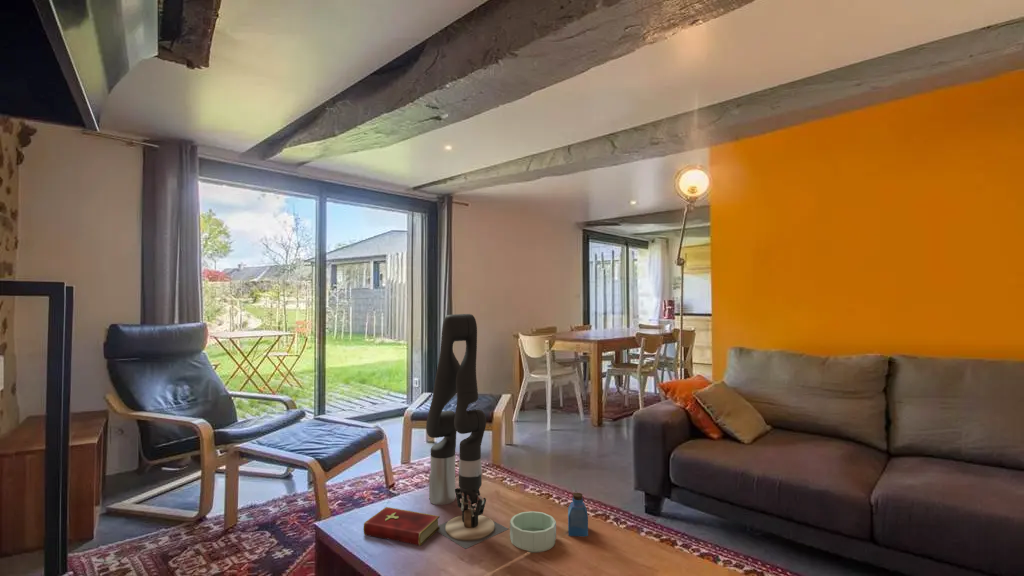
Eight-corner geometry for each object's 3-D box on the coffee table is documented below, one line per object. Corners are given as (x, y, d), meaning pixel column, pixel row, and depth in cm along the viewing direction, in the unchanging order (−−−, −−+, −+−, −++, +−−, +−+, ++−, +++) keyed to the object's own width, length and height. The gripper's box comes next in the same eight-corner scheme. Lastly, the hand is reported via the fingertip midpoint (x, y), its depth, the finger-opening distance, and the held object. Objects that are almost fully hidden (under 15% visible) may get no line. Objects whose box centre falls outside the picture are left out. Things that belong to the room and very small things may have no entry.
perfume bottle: (586, 527, 159) (586, 491, 159) (588, 536, 153) (587, 498, 153) (568, 526, 159) (568, 490, 160) (568, 535, 153) (568, 498, 154)
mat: (431, 529, 157) (431, 528, 157) (473, 512, 170) (473, 511, 170) (465, 550, 144) (465, 548, 144) (508, 530, 157) (508, 528, 157)
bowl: (501, 540, 150) (501, 521, 150) (532, 525, 160) (532, 507, 160) (533, 557, 140) (533, 537, 140) (564, 541, 150) (564, 521, 150)
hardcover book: (419, 547, 146) (419, 533, 146) (363, 535, 153) (363, 522, 153) (439, 528, 157) (439, 515, 157) (386, 518, 165) (386, 506, 165)
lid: (435, 528, 157) (435, 511, 157) (473, 512, 168) (473, 497, 168) (466, 546, 146) (466, 528, 146) (504, 528, 157) (504, 511, 157)
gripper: (448, 468, 160) (447, 520, 159) (475, 480, 149) (475, 536, 149) (465, 463, 165) (465, 513, 165) (493, 474, 155) (492, 528, 154)
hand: (470, 524), depth 157 cm, fingers closed on lid, 4 cm apart
